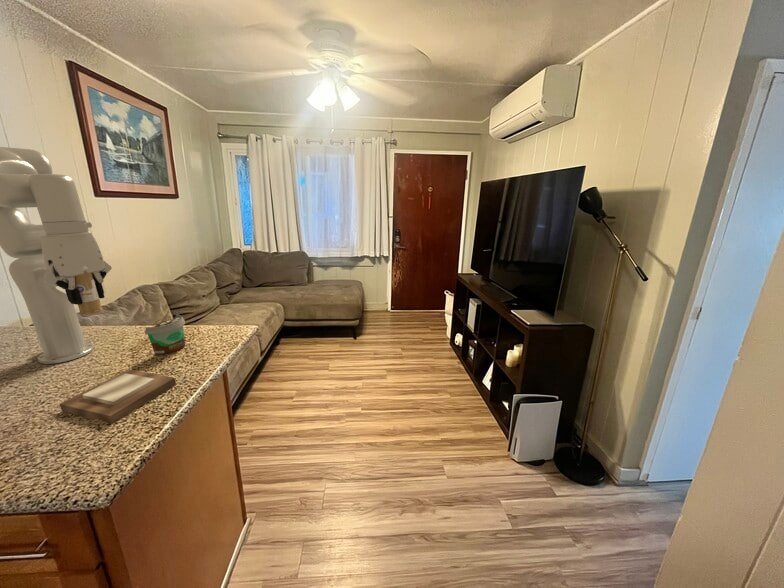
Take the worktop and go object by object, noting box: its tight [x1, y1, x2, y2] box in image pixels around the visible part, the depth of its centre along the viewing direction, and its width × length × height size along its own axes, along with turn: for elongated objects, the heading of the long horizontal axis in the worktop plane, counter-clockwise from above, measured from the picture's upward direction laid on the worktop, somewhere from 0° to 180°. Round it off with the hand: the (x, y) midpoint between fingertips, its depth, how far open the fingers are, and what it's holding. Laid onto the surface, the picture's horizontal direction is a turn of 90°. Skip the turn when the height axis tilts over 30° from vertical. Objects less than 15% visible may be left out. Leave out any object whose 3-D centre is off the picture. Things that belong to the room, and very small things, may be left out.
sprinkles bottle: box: [75, 266, 103, 316], centre depth 82 cm, size 5×5×13 cm
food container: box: [144, 313, 186, 356], centre depth 104 cm, size 12×6×10 cm, turn 168°
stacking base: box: [59, 368, 177, 424], centre depth 81 cm, size 16×16×3 cm
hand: (88, 300), depth 83 cm, fingers closed on sprinkles bottle, 4 cm apart
